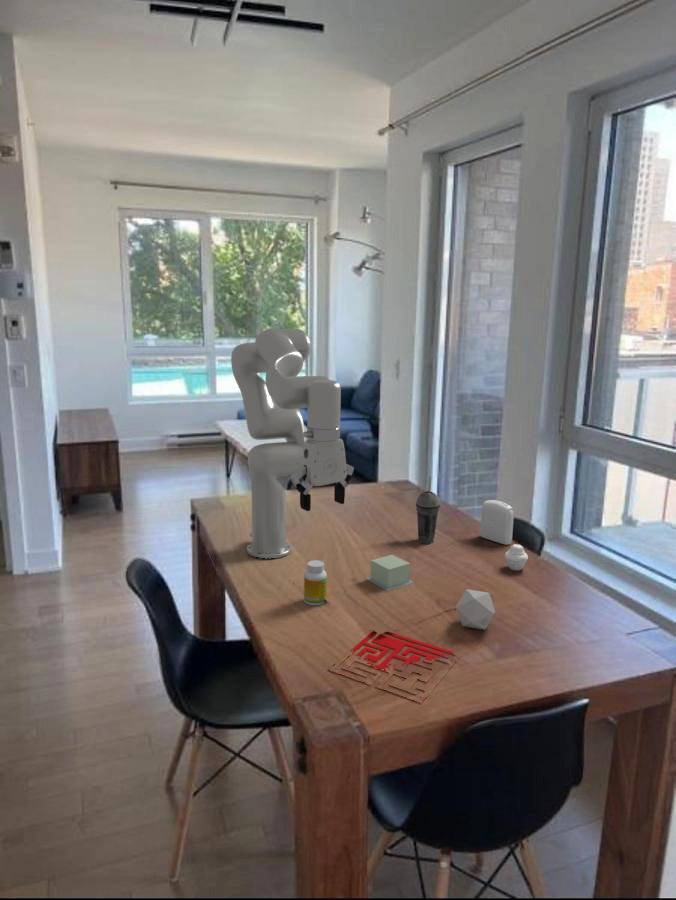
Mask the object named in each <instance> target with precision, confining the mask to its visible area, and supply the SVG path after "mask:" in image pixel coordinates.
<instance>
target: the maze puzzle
mask: <svg viewBox="0 0 676 900" xmlns="http://www.w3.org/2000/svg"><path fill="white" fill-rule="evenodd" d="M376 634H378V632H377V631H375V630H372V631H370V633H369V634H367V636H365V637H364V638H363V639H361V641H360V642H358V643H357V644H356V645H354V647H352V648H351V649H350V650H351V652H352V651H354V653H356V652H357V651H358V650H359V649H361V647H363V646H366V647H363V648H362V649H361V650H360V651H359V652H358V653H357V654H355V655H354V656H356V655H357V656H358V657H359V656H361V655H362V656H364V655H365V654H366V653H367V654H366V656H364V657H363V659H364V658H366V659H368V660H367V662H368V663H367V664H371V665H370V666H372V667H376V668H378V669H384V671H386V669H385V668H388V667H389V666H390V665H391V666H392V663H390V661H392V660H393V659H397V658H399V659H398V660H400V659H402V660H401V661H403V660H405V661H404V662H403V664H401V665H403V666H405V665H404V664H406V665H408V664H409V662H412V663H413V662H415V663H416V662H419V663H420V662H421V661H420V659H422V657H424V656H426V657H424V659H425V660H428V661H430V660H432V659H433V660H434V659H436V658H438V657H439V658H440V657H441V656H444V655H446V656H447V655H448V653H451V654H453V653H454V652H455V651H452V650H449V649H446V648H444V647H440V646H436V645H433V644H430V643H427V642H424V641H420V640H417V639H414V638H410V637H407V636H404V635H400V634H397V633H394V632H390V631H385V632H382V633H379V634H378V635H377V636H376V637H375V635H376ZM373 637H375V638H373ZM372 638H373V639H372ZM371 639H372V641H371V643H370V642H368V641H370V640H371ZM409 642H410V643H409ZM362 645H363V646H362ZM378 645H379V646H378ZM419 645H420V646H419ZM406 646H407V648H406V649H404V648H405V647H406ZM352 649H353V650H352ZM357 649H358V650H357ZM390 649H391V650H393V651H392V652H391V653H390V654H389V655H388V656H386V654H388V652H390ZM403 649H404V651H402V650H403ZM356 650H357V651H356ZM438 650H439V651H438ZM355 651H356V652H355ZM366 651H367V652H366ZM378 651H380V653H378ZM401 651H402V653H401V655H400V654H399V653H400V652H401ZM441 651H443V652H441ZM365 652H366V653H365ZM445 652H447V653H446V654H445ZM452 652H453V653H452ZM352 653H353V652H352ZM354 653H353V654H354ZM377 653H378V655H375V654H377ZM410 653H411V655H409V654H410ZM431 653H432V654H431ZM435 654H436V655H435ZM451 654H450V655H451ZM407 655H409V657H407ZM438 655H440V656H438ZM362 656H361V657H362ZM384 656H386V658H385V659H383V661H382V662H380V663H379V664H376V663H375V662H377V663H378V662H379V661H380V660H381V659H382V658H384ZM394 657H395V658H394ZM435 657H436V658H435ZM444 657H445V656H444ZM444 657H443V658H444ZM439 658H438V659H439ZM366 659H365V660H366ZM424 659H423V661H424ZM369 660H371V661H369ZM378 660H379V661H378ZM372 661H374V662H373V663H372ZM407 663H408V664H407ZM412 663H411V664H412ZM387 664H388V665H389V666H388V665H387ZM373 665H375V666H373ZM409 665H410V664H409ZM409 665H408V666H409ZM391 666H390V667H391ZM396 666H397V665H394V667H396ZM372 667H371V668H372ZM390 667H389V668H390ZM389 668H388V669H389ZM378 669H377V670H378ZM384 671H383V672H384ZM379 672H380V673H382V671H379ZM376 674H377V673H376Z"/></svg>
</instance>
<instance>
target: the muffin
mask: <svg viewBox="0 0 676 900" xmlns="http://www.w3.org/2000/svg"><path fill="white" fill-rule="evenodd" d="M504 558H505V561H506V564H507V565H508V568H509V569H510V570H512V571H521V570H522V569H523V568H524V566H525V565H526V563H527V562H528V559H529V556H528V553H526V552H525V548H524V546H522V545H521V544H518V543H516V544H515V543H514V544H512V545H510V548H509V549H508V550H507V551H506V552H505V554H504Z"/></svg>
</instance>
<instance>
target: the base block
mask: <svg viewBox="0 0 676 900" xmlns="http://www.w3.org/2000/svg"><path fill="white" fill-rule="evenodd" d="M370 563H371V564H370V577H371V579H372V580H374V581H376V582H378V583H379V584H381V585H383V586H385V587H387V588H391V587H394V586H397V585H400V584H404V583H407V582H409V580H410V576H411V575H410V574H411V573H410V572H411V563H410V562H408V561H406V560H404V559H402V558H400V557H398V556H395V555H393V554H389V555H385V556H382V557H378V558H374V559H371V560H370Z"/></svg>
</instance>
